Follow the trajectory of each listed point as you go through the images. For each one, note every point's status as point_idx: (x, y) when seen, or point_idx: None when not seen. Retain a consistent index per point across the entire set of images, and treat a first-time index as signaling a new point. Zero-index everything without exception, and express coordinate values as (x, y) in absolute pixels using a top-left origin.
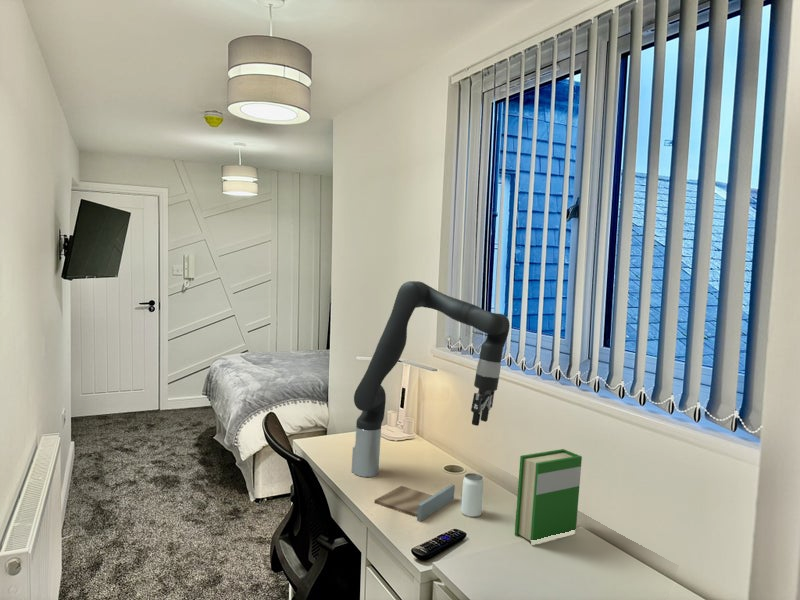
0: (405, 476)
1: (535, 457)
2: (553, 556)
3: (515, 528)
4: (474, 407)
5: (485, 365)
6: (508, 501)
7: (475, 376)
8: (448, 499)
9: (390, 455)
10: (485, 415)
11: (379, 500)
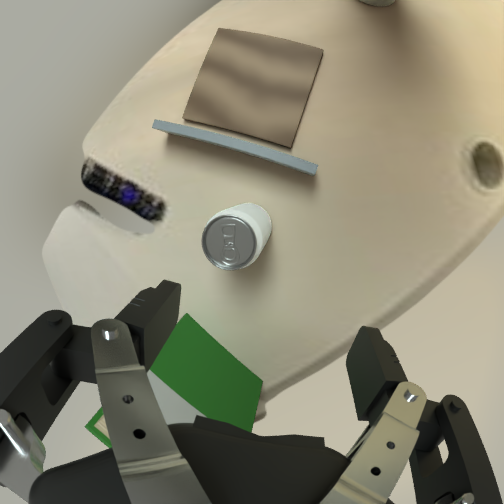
0: (398, 55)
1: None
2: None
3: (181, 319)
4: (94, 356)
5: None
6: (345, 301)
7: None
8: (284, 165)
9: (481, 34)
10: (359, 378)
11: (220, 35)
